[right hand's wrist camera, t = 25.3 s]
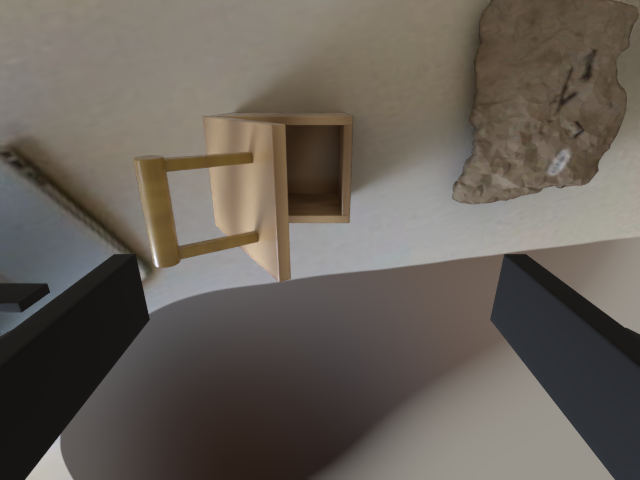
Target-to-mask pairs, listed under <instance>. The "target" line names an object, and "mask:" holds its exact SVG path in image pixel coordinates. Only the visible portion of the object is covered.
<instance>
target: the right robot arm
mask: <svg viewBox="0 0 640 480" xmlns="http://www.w3.org/2000/svg"><path fill="white" fill-rule="evenodd" d="M149 320H150V319H149V314H148V309H147V305H146V300H145V295H144V291H143V286H142V282H141V277H140V272H139V268H138V263H137V258H136V254H114V255H112V256H111V257H110V258H108V259H107V260H106V261H104V262H103V263H102V264H100V265H99V266H98V267H96V268H95V269H94V270H92V271H91V272H90V273H88V274H87V275H86V276H84V277H83V278H82V279H80V280H79V281H77V282H76V283H75V284H73V285H72V286H71V287H69V288H68V289H67V290H65V291H64V292H63V293H61V294H60V295H59V296H57V297H56V298H55V299H53V300H52V301H51V302H49V303H48V304H47V305H45V306H44V307H43V308H41V309H40V310H39V311H37V312H36V313H34V314H33V315H32V316H30V317H29V318H28V319H26V320H25V321H24V322H22V323H21V324H20V325H18V326H17V327H16V328H14V329H13V330H11V331H9V332H7V333H5V334H3V335H1V336H0V480H25V479H26V478H27V476H28V475H29V474H30V473H31V471H32V470H33V469H34V467H35V466H36V465H37V464H38V462H39V461H40V460H41V458H42V457H43V456H44V455H45V453H46V452H47V451H48V449H49V448H50V447H51V446H52V444H53V443H54V442H55V440H56V439H57V438H58V437H59V435H60V434H61V433H62V431H63V430H64V429H65V428H66V426H67V425H68V424H69V422H70V421H71V420H72V419H73V417H74V416H75V415H76V413H77V412H78V411H79V410H80V408H81V407H82V406H83V405H84V403H85V402H86V401H87V399H88V398H89V397H90V395H91V394H92V393H93V392H94V390H95V389H96V388H97V386H98V385H99V384H100V383H101V381H102V380H103V379H104V378H105V376H106V375H107V374H108V372H109V371H110V370H111V369H112V367H113V366H114V365H115V363H116V362H117V361H118V360H119V358H120V357H121V356H122V354H123V353H124V352H125V351H126V349H127V348H128V347H129V345H130V344H131V343H132V342H133V340H134V339H135V338H136V337H137V335H138V334H139V333H140V331H141V330H142V329H143V327H144V326H145V325H146V324H147V322H148V321H149ZM491 321H492V322H493V324H494V325H495V326H496V328H497V329H498V330H499V331H500V333H501V334H502V335H503V337H504V338H505V339H506V340H507V342H508V343H509V344H510V345H511V347H512V348H513V349H514V351H515V352H516V353H517V354H518V356H519V357H520V358H521V360H522V361H523V362H524V363H525V365H526V366H527V367H528V369H529V370H530V371H531V372H532V374H533V375H534V376H535V377H536V379H537V380H538V381H539V383H540V384H541V385H542V387H543V388H544V389H545V390H546V392H547V393H548V394H549V396H550V397H551V398H552V399H553V401H554V402H555V403H556V405H557V406H558V407H559V408H560V410H561V411H562V412H563V414H564V415H565V416H566V417H567V419H568V420H569V421H570V422H571V424H572V425H573V426H574V427H575V429H576V430H577V431H578V433H579V434H580V435H581V437H582V438H583V439H584V440H585V442H586V443H587V444H588V446H589V447H590V448H591V449H592V451H593V452H594V453H595V455H596V456H597V457H598V458H599V460H600V461H601V462H602V464H603V465H604V466H605V467H606V469H607V470H608V471H609V473H610V474H611V475H612V476H613V478H614V479H615V480H640V334H638V333H636V332H634V331H632V330H630V329H628V328H624V327H623V326H622V325H620V324H619V323H618V322H616V321H615V320H614V319H612V318H611V317H610V316H608V315H607V314H605V313H604V312H603V311H601V310H600V309H599V308H597V307H596V306H595V305H593V304H592V303H591V302H589V301H588V300H587V299H585V298H584V297H583V296H581V295H580V294H579V293H577V292H576V291H575V290H573V289H572V288H571V287H569V286H568V285H567V284H565V283H564V282H562V281H561V280H560V279H558V278H557V277H556V276H554V275H553V274H552V273H550V272H549V271H548V270H546V269H545V268H544V267H542V266H541V265H540V264H538V263H537V262H536V261H534V260H533V259H532V258H530V257H529V256H528V255H526V254H504V258H503V263H502V268H501V272H500V277H499V282H498V286H497V291H496V295H495V300H494V305H493V309H492V314H491Z"/></svg>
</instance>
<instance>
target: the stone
mask: <svg viewBox="0 0 640 480" xmlns="http://www.w3.org/2000/svg"><path fill="white" fill-rule="evenodd" d="M638 15H639V14H638V10H637V8H636V7H634V6H632V5H628V4H625V3H622V2H617V1H612V0H492V1H491V3H490V4H489V6H488V7H487V8H486V9H485V10H484V11H483V13H482V17H481V19H480V24H479V25H480V31H479V36H480V41H481V45H480V46H479V48H478V50H477V54H476V57H475V60H474V70H475V73H476V90H477V91H476V93H475V95H474V105H473V108H472V112H471V114H470V118H469V122H470V124H472V125H473V126H474V127H475V131H474V133H473V136H474V141H473V146H474V148H473V149H472V155H471V156H470V157H469V159H467V160H466V162H465V164H464V167H463V173H462V175H461V176H460V177H459V179H458V180H457V181H456V182H455V183H454V185H453V195H452V199H454V200H456V201H458V202H460V203H468V204H480V203H492V202H496V201H499V200H504V201H506V200H509V199H514V198H516V197H519V196H521V195H527V194H532V193H538V192H540V191H541V190H542V189H543V188H546V187H550V186H556V187H557V188H563V187H565V186H575V185H578V186H582V185H585V184H587V183H589V182H590V180H591V179H592V178H593V177H594V176H595V174H596V173H597V172H598V171H599V170H598V163H599V160H600V159H601V157H602V156H603V154H604V153H605V152H606V151H607V150H608V149H610V145H611V143H612V142H613V140H614V139H615V137H616V135H617V133H618V131H619V129H620V126H621V123H622V121H623V118H624V115H625V111H626V100H627V96H626V92H625V90H624V88H622V87H621V86H620V84H619V83H618V80H617V68H616V59H617V57H618V56H619V55H620V53H621V52H623V51H624V50H626V49H627V48H628V47H629V37H630V33H631V31H632V28H633V25H634V23H635V22H636V20H637V18H638Z"/></svg>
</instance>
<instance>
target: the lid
mask: <svg viewBox="0 0 640 480" xmlns="http://www.w3.org/2000/svg"><path fill="white" fill-rule="evenodd" d="M203 123H204V131H205V140H206V148H207V155H198V156H185V157H172V158H164V157H163V156H154V155H153V156H140V157H135V158H133V162H134V167H135V172H136V178H137V183H138V188H139V193H140V198H141V203H142V208H143V213H144V218H145V223H146V228H147V234H148V239H149V244H150V249H151V254H152V259H153V264H154V266H156V267H159V268H166V267H171V266H174V265H176V264H178V263H179V262H180V260H181V259H184V258H188V257H193V256H198V255H202V254H207V253H211V252H216V251H220V250H225V249H229V248H234V247H238V246H239V247H240V248H241V249H243V250H244V251H245V252H246V253H247V254H248V255H249V256H250V257H252V258H253V259H254V260H255V261H256V262H257V263H258V264H259V265H260V266H262V267H263V268H264V269H265V270H266V271H267V272H268V273H269V274H271V275H272V276H273V277H274V278H275V279H276V280H277V281H278V282H282V281H286V280H289V279H291V274H290V246H289V218H288V189H287V161H286V133H285V124H279V123H270V122H261V121H252V120H243V119H234V118H225V117H216V116H203ZM199 168H209V173H210V182H211V190H212V199H213V207H214V216H215V224H216V226H217V227H218V228H219V229H220V230H221V231H222V232H224V233H225V234H226V235H227V236H226V237H222V238H217V239H212V240H207V241H202V242H197V243H192V244H187V245H182V246H178V240H177V234H176V228H175V222H174V216H173V210H172V204H171V198H170V192H169V185H168V179H167V173H166V172H168V171H179V170H189V169H199Z"/></svg>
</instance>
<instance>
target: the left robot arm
mask: <svg viewBox="0 0 640 480" xmlns="http://www.w3.org/2000/svg"><path fill="white" fill-rule="evenodd" d="M48 293H50V290H49V287H48V284H0V312H23V311H24V310H26V309H27V308H29V307H30V306H31V305H33V304H34V303H36V302H37V301H39V300H40V299H41V298H43V297H44V296H46V295H47V294H48Z"/></svg>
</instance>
